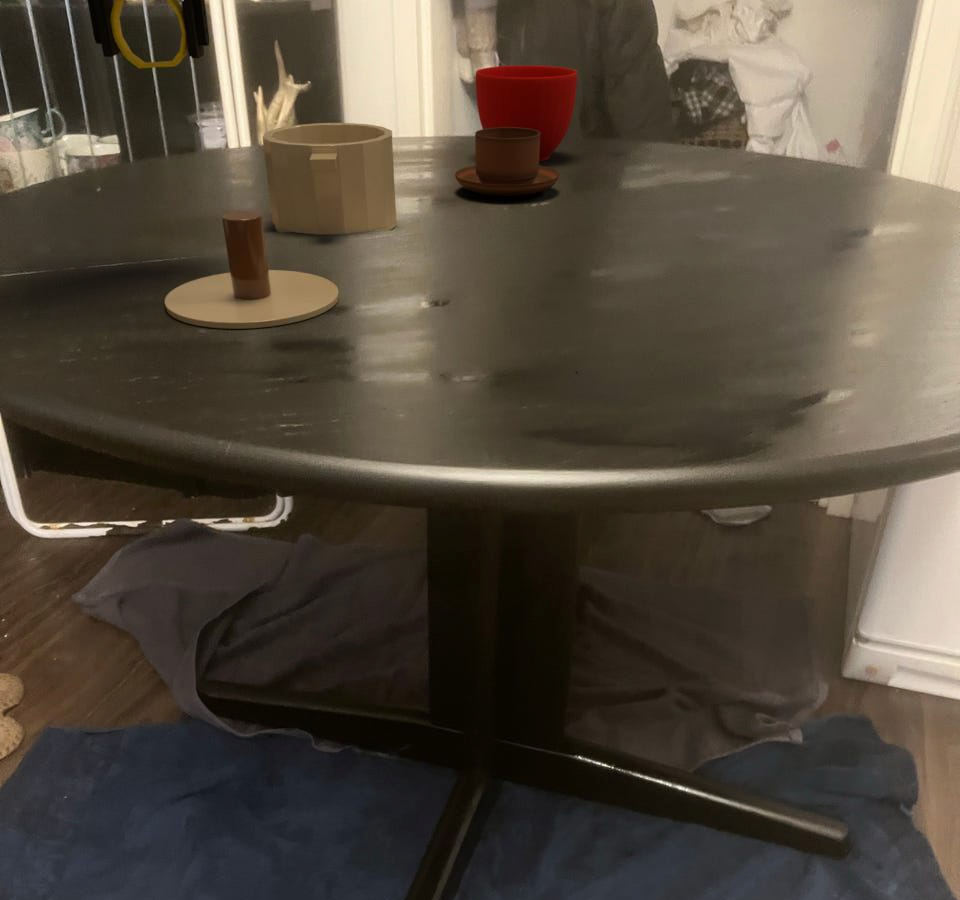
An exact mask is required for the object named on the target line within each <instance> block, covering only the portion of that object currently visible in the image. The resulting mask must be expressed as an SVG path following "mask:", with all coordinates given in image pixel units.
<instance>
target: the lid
mask: <svg viewBox="0 0 960 900" xmlns="http://www.w3.org/2000/svg"><path fill="white" fill-rule="evenodd" d="M221 221H222V229H223V235H224V240H225V247H226V255H227V260H228V267H229V272H224V273H219V274H212V275H209V276H204V277H200V278H197V279H194V280H190V281H187V282H185V283H183V284H181V285H178V286H177V287H175V288H173V289H172V290H171V291H170V292H168V294H167V295H166V296H165V298H164V307H165V310H166V312H167V314H168V315H169V316H171V317H172V318H174V319H175V320H177V321H180V322H183V323H185V324H189V325H193V326H199V327H204V328H213V329H225V330H226V329H227V330H228V329H229V330H243V329H244V330H245V329H247V330H248V329H260V328H261V329H262V328H271V327H278V326H284V325H290V324H294V323H298V322H302V321H305V320H309V319H311V318H314V317H317V316H320V315H322V314H324V313H326V312H328V311H329V310H331V309H332V308H334V307H335V306H336V305H337V303H338V301H339V298H340V293H339V288H338V286H337V285H336V284H335V283H334V282H333V281H331V280H329V279H327V278H326V277H322V276H320V275H316V274H312V273H308V272H302V271H294V270H282V269H269V264H268V263H269V262H268V256H267V247H266V241H265V240H266V239H265V233H264V223H263V217H262V214H261V213H260V212H257V211H253V210H237V211H231V212H227V213H224V214H223V215H222V216H221Z"/></svg>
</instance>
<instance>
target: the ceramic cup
mask: <svg viewBox="0 0 960 900" xmlns="http://www.w3.org/2000/svg"><path fill="white" fill-rule="evenodd" d="M577 83H578V71H577V70H576V69H573V68H568V67H562V66H552V65H551V66H550V65H501V66H489V67H483V68H480V69H477V70H476V71H475V95H476V102H477V104H476V105H477V111H478V112H477V113H478V117H479V122H480V125H481V128H482V129H487V128H498V127H517V128H528V129H533V130H537V131H539V132H540V150H539V162H544V161H547V160H549V159H550V157H551V155H552V154H553V153H554V152H555V151H556V149H558V147H559V146H560V144H561V143H562V141H563V140H564V138H565V136H566V134H567V132H568V129H569V127H570V124H571V121H572V117H573V114H574V108H575V102H576V94H577V87H578V86H577V85H578V84H577Z"/></svg>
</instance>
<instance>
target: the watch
mask: <svg viewBox="0 0 960 900" xmlns="http://www.w3.org/2000/svg"><path fill="white" fill-rule="evenodd" d="M125 1H126V0H113V8H112V11H111V15H110V17H111V19H110V21H111V27H112V33H113V38H114V41H115V42H116V44H117V46H118V47H119V49H120V51H121V52H120V53H121V54H122V55H123V57H124V58H125V59H126V60H127V61H129V63H131V64H132V65H134V66H135V67H136V68H138V69H151V68H152V69H153V68H173V67H177V66H179V65H180V64H181V62H182V61H183V60H184V59H185V57H186V56H187V54H188V46H187V39H186V31H185V24H184V16H183V9H182V4H180V2H179V1H178V0H166V2H167V3H168V4H169V6H170V7H171V9H172V10H173V11H174V12H175V14H176V16H177V19H178V23H179V27H180V31H181V39H180V46H179V50H178V52H177V53H176V55H175V56H174V57H173V58H172V60H166V61H165V60H164V61H153V62H151V61H149V62H145V61H144V60H143V59H141V58H140V57H138V56H137V55H136V54H135V53H134V52H133V51H132V50H131V48H130V46H129V45H128V43H127V42H126V40H125V38H124V36H123V32H122V31H123V30H122V26H121V19H120V17H121V15H122V12H123V11H122V10H123V6H124V3H125Z"/></svg>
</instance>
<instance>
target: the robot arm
mask: <svg viewBox="0 0 960 900" xmlns="http://www.w3.org/2000/svg"><path fill="white" fill-rule="evenodd" d="M113 4H114V0H87V6H88V12H89V17H90V23H91V29H92V34H93V39H94V41H95V44H97V45H101V49H102V54H103V57H105V58H112V57H115V56H117V55H119V54H121V53H122V52H121V51H120V49H119V47H118V46H117V44H116V42H115V41H114V38H113V33H112V27H111V21H110V19H111V17H110V15H111V11H112V8H113ZM181 7H182V9H183V16H184V24H185V31H186V39H187V46H188V51H187V54H188V57H191V59H200V58H202V57H203V56H204V55H205V48H204V47H209V46H210V34H209V33H210V32H209V26H208V16H207V10H206V1H205V0H182V1H181Z"/></svg>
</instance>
